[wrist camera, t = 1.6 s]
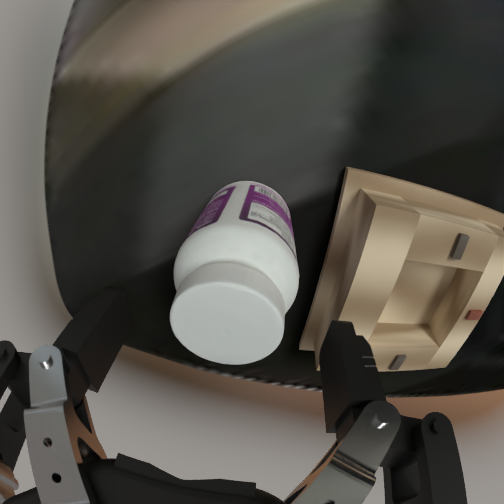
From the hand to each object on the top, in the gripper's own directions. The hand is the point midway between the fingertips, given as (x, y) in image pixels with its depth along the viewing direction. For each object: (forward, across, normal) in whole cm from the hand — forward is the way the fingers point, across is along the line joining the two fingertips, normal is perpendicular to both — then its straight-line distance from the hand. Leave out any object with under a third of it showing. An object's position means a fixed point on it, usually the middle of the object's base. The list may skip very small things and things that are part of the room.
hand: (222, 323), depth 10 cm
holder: (+9, -13, +2) cm, 16 cm away
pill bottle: (+9, 0, -1) cm, 9 cm away
